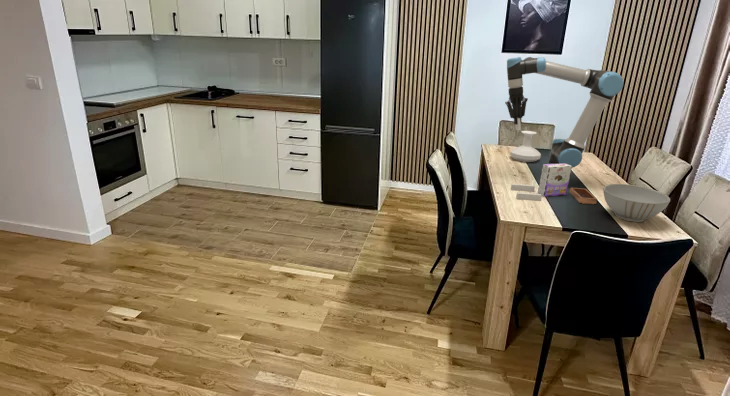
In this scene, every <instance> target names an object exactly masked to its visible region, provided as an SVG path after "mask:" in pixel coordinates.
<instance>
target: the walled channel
mask: <svg viewBox="0 0 730 396" xmlns="http://www.w3.org/2000/svg"><path fill="white" fill-rule="evenodd" d="M535 189H536V186H535V185H534V184H524V183H523V184H521V183H511V185H510V190H511V191H517V192H516V197H515V199H516V200H525V201H542V197H543V196H542V195H541V194H539V193H535ZM519 191H520V192H519ZM521 191H522V192H521ZM533 192H534V193H533Z"/></svg>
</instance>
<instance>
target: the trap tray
mask: <svg viewBox="0 0 730 396" xmlns="http://www.w3.org/2000/svg"><path fill="white" fill-rule="evenodd" d="M569 195H571V196H572V198H574V200H575V201H576V202H578V204H580V203H582V204H583V205H594V204H596V205H597V201H598V198H597V197H595V195H594V194H592V193H591V192H590V191H589V190H588V189H587V188H578V187H570V188H569Z"/></svg>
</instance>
